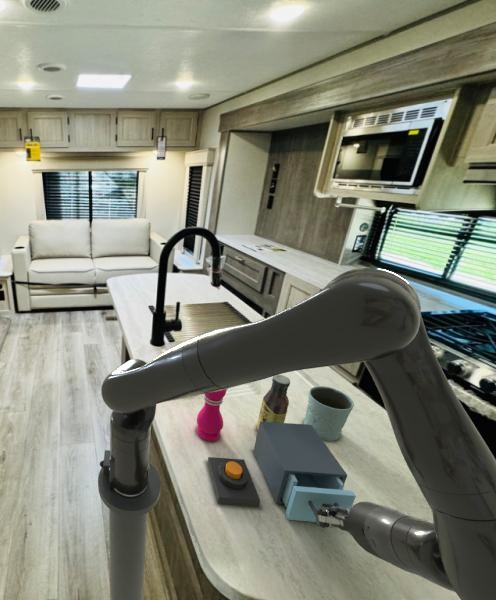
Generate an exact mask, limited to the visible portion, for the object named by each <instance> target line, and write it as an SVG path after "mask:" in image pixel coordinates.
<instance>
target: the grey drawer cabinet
mask: <svg viewBox="0 0 496 600" xmlns="http://www.w3.org/2000/svg"><path fill="white" fill-rule="evenodd" d="M252 453H253V455H254V457H255V459H256V462H257V464H258V466H259V468H260V470H261V473H262V475H263V477H264V479H265V482H266V484H267V487H268V489H269V491H270V493H271V496H272V498H273V501H274V502H275V504H276V505H285V504H284V502H283V500H282V493H283V490H284V486H285V483H286V479H287V476H288V473H292V474H305V475H318V476H332V477H339V478H340V479H341V481H342V482H343V484H344V485H345V484H346V481H347V478H348V474H347V472H346V471H345V470H344V467H343V466H342V465H341V464H340V462H339V461H338V459H337V458H336V457H335V455H334V454H333V453H332V451H331V449H330V448H329V447H328V446H327V445H326V443H325V441H324V440H322V439H321V437H320V436H319V435H318V433H317V432H316V430H315V429H314V428H313V426H312V425H309V424H304V423H292V422H291V423H290V422H284V423H275V422H260V424H259V428H258V432H256V437H255V442H254V447H253V452H252Z"/></svg>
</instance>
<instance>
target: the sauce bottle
mask: <svg viewBox="0 0 496 600" xmlns="http://www.w3.org/2000/svg"><path fill="white" fill-rule="evenodd" d="M271 381H272V383H271V387H270V389H269V390H268V391H267V392H266V394H265V395H264V396H263V398H262V402H261V406H260V410H259V415H258V418H257V421H256V422H257V423H256V433H258V428H259V424H260V422H275V423H285V421H286V417H287V413H288V408H289V405H290V400H289V397H288V395H287V394H288V388H289V387H290V386H291V385H290V384H291V379H290V378H289V377H288V376H286V375H283V374H279V375H275V376H272V379H271Z"/></svg>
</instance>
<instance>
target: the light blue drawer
mask: <svg viewBox="0 0 496 600" xmlns="http://www.w3.org/2000/svg"><path fill="white" fill-rule="evenodd" d="M344 487H345V483H344V484H343V482H342V481H341V479H340V478H339V477H332V476H318V475H305V474H292V473H288V476H287V479H286V483H285V486H284V490H283V493H282V500H283V502H284V504H283V505H284V506H285V508H286V510H285V514H284V515H285V516H286V519H287V520H290V521H299V522H300V521H301V522H312V523H316V524H317V526H319V527H321V526H320V525H319V520H318V514H317V509H319V508H321V506H322V504H331V505H334V506H337V507H345V508H347V507H348V508H352V507H353V506H354V505H353V504H354V502H355V500H356V497H357V495H356V494H355V492H354V491H353V490H348V489H344ZM331 525H332V527H331V528H338V527H337V525H336V524H331Z"/></svg>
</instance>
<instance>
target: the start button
mask: <svg viewBox="0 0 496 600" xmlns="http://www.w3.org/2000/svg"><path fill="white" fill-rule="evenodd" d="M225 472H226V474H227V476H228V477H230V478H232V479H235V480H237V479H240V478H241V475H242V467H241V466H240V465H239V464H238V463H236V462H233V461H230V462H228V463H227V464H226V468H225Z"/></svg>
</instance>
